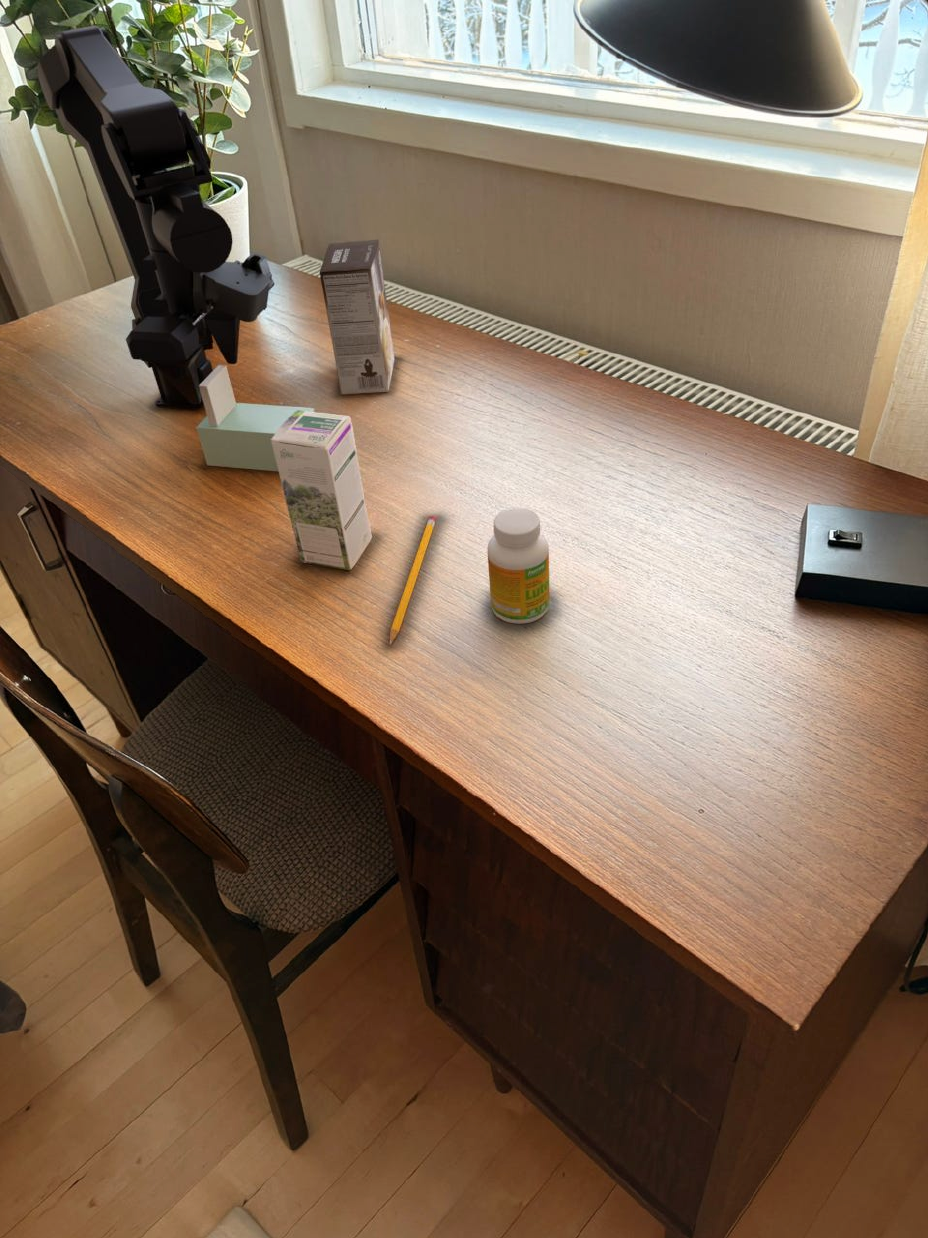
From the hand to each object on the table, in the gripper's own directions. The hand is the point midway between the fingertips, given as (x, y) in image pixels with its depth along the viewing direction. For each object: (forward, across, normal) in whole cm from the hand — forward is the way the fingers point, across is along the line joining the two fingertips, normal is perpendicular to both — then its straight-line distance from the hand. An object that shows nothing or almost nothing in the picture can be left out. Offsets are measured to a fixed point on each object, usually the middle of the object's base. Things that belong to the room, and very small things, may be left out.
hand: (215, 382), depth 105 cm
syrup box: (+9, -16, -19) cm, 27 cm away
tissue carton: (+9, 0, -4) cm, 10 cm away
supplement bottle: (+9, -21, -39) cm, 45 cm away
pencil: (+9, -19, -28) cm, 35 cm away
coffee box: (+9, +20, -10) cm, 24 cm away
